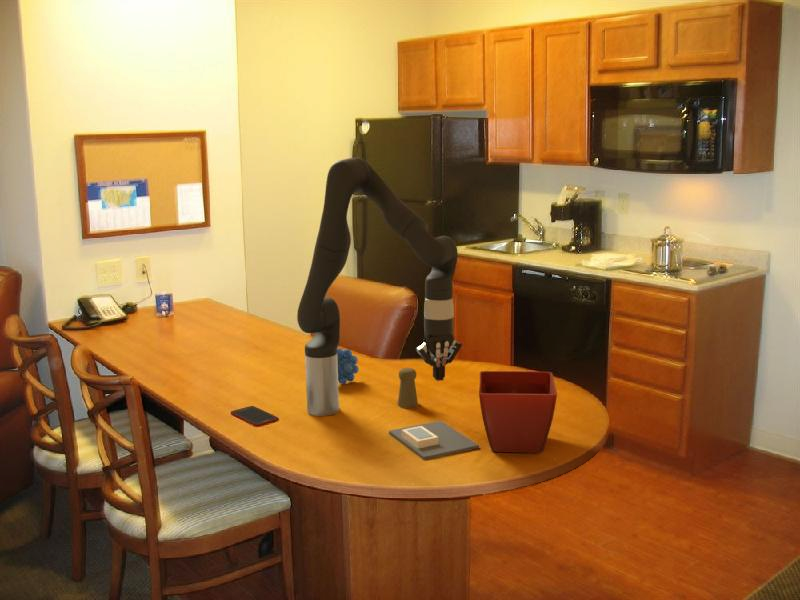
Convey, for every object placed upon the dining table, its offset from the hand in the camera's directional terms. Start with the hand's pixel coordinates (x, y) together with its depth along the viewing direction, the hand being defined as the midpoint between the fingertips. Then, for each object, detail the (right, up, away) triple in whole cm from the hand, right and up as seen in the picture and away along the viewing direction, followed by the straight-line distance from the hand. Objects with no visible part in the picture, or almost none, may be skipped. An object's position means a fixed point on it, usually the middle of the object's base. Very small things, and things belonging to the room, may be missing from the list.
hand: (438, 379), depth 223 cm
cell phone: (-52, -13, +22) cm, 58 cm away
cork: (-8, -10, +30) cm, 33 cm away
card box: (-2, -15, +2) cm, 15 cm away
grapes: (-27, -6, +49) cm, 57 cm away
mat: (-1, -16, +3) cm, 17 cm away
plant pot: (+20, -17, 0) cm, 26 cm away
